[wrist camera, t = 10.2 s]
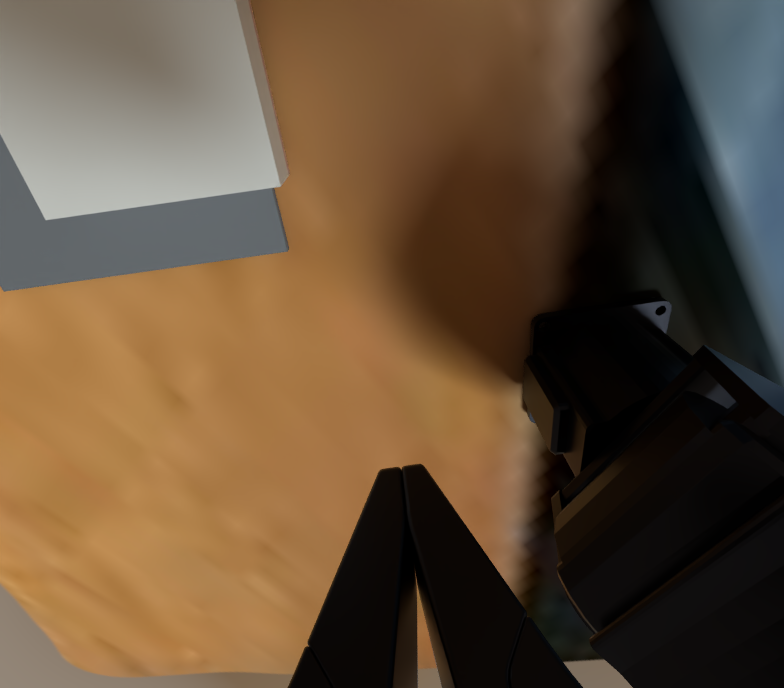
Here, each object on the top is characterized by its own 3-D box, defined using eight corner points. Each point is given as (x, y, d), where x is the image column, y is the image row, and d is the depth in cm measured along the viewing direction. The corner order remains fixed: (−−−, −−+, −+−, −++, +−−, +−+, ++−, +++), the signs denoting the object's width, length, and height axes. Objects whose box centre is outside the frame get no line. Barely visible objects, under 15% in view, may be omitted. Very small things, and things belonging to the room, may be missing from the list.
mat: (160, -266, 12) (153, -276, 11) (288, 248, 19) (287, 251, 19) (-290, -198, 12) (-309, -206, 11) (10, 287, 19) (4, 291, 19)
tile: (197, -154, 11) (-127, -106, 11) (280, 186, 15) (45, 220, 15) (223, -117, 13) (-49, -76, 13) (290, 173, 17) (83, 203, 17)
